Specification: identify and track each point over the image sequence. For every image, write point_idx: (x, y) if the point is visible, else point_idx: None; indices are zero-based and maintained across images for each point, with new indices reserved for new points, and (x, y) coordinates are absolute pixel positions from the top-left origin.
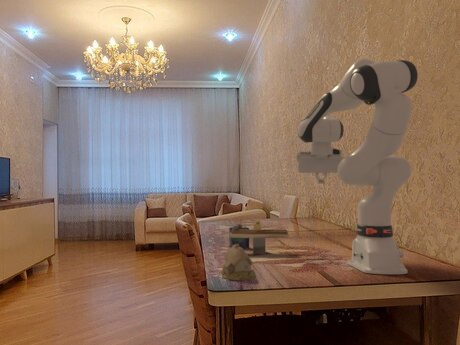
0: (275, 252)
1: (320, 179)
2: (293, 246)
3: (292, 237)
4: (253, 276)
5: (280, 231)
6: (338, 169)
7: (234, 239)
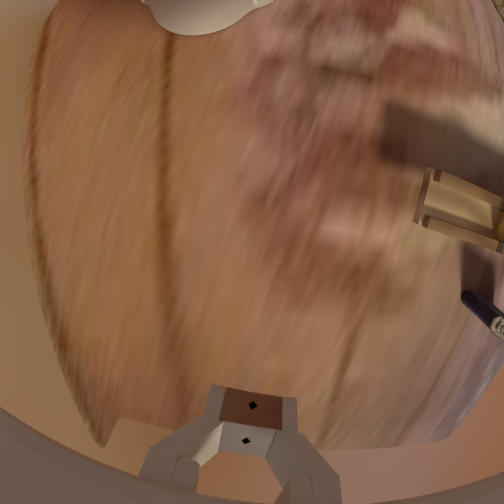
0: None
1: (263, 426)
2: (338, 301)
3: None
4: None
5: (462, 180)
6: None
7: (497, 311)
